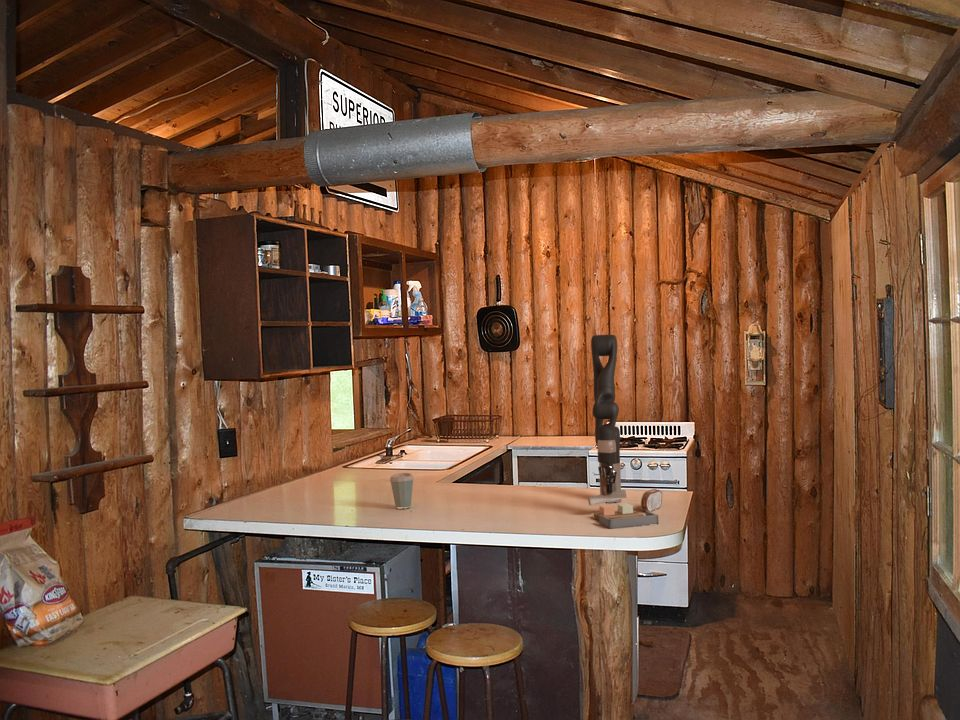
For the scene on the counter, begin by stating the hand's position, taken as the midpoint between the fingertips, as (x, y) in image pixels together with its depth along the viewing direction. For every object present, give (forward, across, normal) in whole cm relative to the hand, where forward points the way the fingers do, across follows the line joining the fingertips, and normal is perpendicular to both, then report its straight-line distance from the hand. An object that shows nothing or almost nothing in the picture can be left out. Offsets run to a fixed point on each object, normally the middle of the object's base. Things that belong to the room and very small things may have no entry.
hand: (608, 492), depth 315 cm
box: (+9, +19, 0) cm, 21 cm away
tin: (+9, -1, +20) cm, 22 cm away
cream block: (+7, +7, +4) cm, 11 cm away
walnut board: (+9, +9, 0) cm, 13 cm away
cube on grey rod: (+4, 0, 0) cm, 4 cm away
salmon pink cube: (+7, +7, -4) cm, 11 cm away
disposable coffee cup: (+9, -47, -78) cm, 91 cm away
